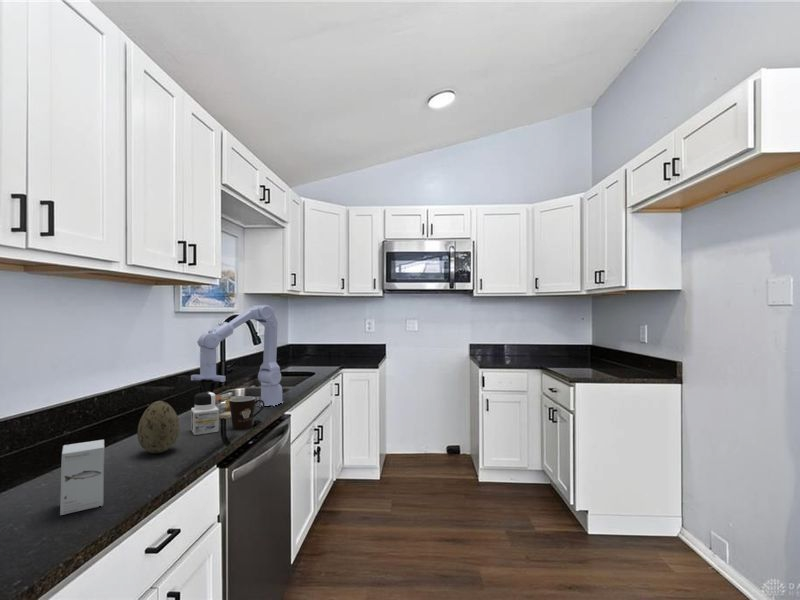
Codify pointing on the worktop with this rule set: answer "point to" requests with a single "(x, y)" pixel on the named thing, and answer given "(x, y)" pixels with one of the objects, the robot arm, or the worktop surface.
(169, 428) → the decorative egg
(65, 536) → the worktop surface
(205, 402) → the container
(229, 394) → the valve lever
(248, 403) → the coffee mug
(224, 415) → the mounting board
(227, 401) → the valve pipe
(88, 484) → the supplement box
